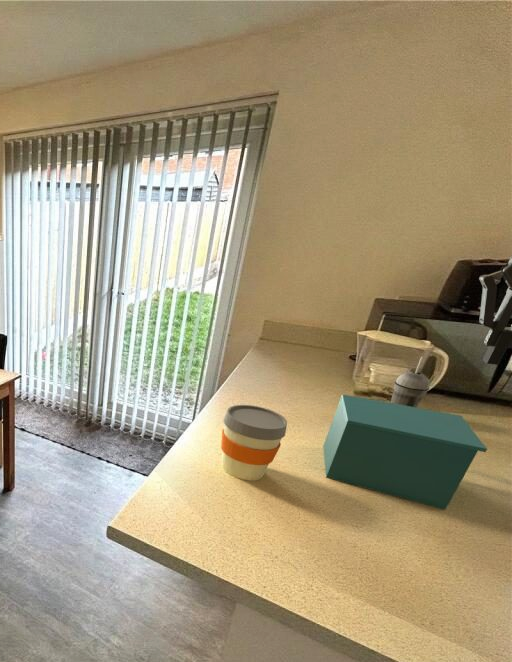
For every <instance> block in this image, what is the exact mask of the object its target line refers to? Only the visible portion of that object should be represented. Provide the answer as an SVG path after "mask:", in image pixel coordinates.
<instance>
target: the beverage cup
mask: <svg viewBox="0 0 512 662" xmlns="http://www.w3.org/2000/svg"><path fill="white" fill-rule="evenodd" d="M424 358H425V357H424V356H421V357H420V358H419V362H418V364H417V366H416V368H415V371H408V372H404V373H402V374H401V375H399V376H398V377H397V378H396V380H395V381H394V386H393V392H392V396H391V399H390V402H389V403H393V404H399V405H405V406H410V407H416V408H418V406H419V404H420V402H421V400H422V399H423V397H424V396H426V394H427V393H428V391H429V390H430V386H431V383H430V379H429V378H428V376H427V375H425V374H424V373H422V372H419V371H420V368H421V366H422V363H423V361H424Z"/></svg>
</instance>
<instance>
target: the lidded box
mask: <svg viewBox="0 0 512 662" xmlns="http://www.w3.org/2000/svg"><path fill="white" fill-rule="evenodd" d="M322 449H323V458H324V468H325V477H326V479H331V480H333V481H334V480H335V481H337V482H341V483H346V484H349V485H352V486H356V487H360V488H364V489H366V490H371V491H375V492H379V493H381V494H385V495H389V496H393V497H397V498H400V499H403V500H408V501H411V502H416V503H419V504H422V505H426V506H430V507H433V508H436V509H437V508H438V509H441V510H446V509H447V507H448V506H449V504H450V502H451V501H452V499H453V497H454V495H455V493H456V492H457V490H458V488H459V486H460V484H461V483H462V481H463V479H464V477H465V475H466V473H467V471H469V468H470V466H471V465H472V463H473V461H474V459H475V457H476V456H477V454H478V452H479V451H477V450H472V449H467V448H463V447H458V446H453V445H448V444H444V443H439V442H434V441H429V440H424V439H420V438H415V437H410V436H405V435H401V434H396V433H391V432H386V431H381V430H377V429H372V428H367V427H362V426H357V425H353V424H348V423H347V421H346V417H345V412H344V407H343V403H342V398H341V397H340V399H339V402H338V404H337V407H336V411H335V413H334V415H333V417H332V420H331V423H330V426H329V429H328V431H327V435H326V438H325V441H324V443H323V447H322Z"/></svg>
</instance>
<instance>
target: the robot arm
mask: <svg viewBox="0 0 512 662" xmlns="http://www.w3.org/2000/svg"><path fill="white" fill-rule="evenodd" d="M502 278H503V280H504V281H505V284H506V285H507V287H508V288H507V289H506V294H505V296H504V297H503V299H502V302H501V304H500V306H499V308H498V310H497V312H496V314H495V309H496V302H497V301H496V300H497V292H498V286H497V285H498V284H500V283H501V279H502ZM478 280H479V282H480V284H481V286H482V293H481V300H480V310H479V319H478V322H479V324H480V325H483V327H487V328H488V329H489V331H488V333H487V334H486V337H485V338H484V340H483V345H485V346H486V347H487V350H486V351H485V354H484V355H483V357H482V361H483V362H484V363H485V364H487V365H496V366H499V364H500V363H501V361H502V358H503V357H504V355H505V353H506V351H507V349H512V324H511V325H510V329H506V327H507V326H508V323H509V321H510V319H511V317H512V255H510V258H509V260H508V262H507V263H506V264H504V265H503V266H502V267H501V268H500V270H499V271H495V272H492V273H490V274H482V275H480V276H479V278H478Z"/></svg>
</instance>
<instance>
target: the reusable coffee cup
mask: <svg viewBox="0 0 512 662" xmlns="http://www.w3.org/2000/svg"><path fill="white" fill-rule="evenodd" d="M223 424H224V428H222V430H221V442H220V449H221V451H222V454H221V468H222V469H223V471H225V472H226V473H227V474H229V475H231V476H233V477H235V478H237V479H240V480H243V481H258V480H260V479H262V478H263V477H264V474H265V473H266V471H267V469H268V467H269V465H270V464H271V463H273V461H274V459H275V458H276V455H277V453H278V452H279V450H280V448H281V444H282V443H281V442H282V439H283V438H284V437H285V436H286V433H287V432H286V431H287V426H288V420H287V419H286V418H285V417H284V416H283V415H282V414H280V413H278V412H276V411H274V410H272V409H269V408H266V407H262V406H258V405H251V404H235V405H232V406H229V407H228V408H227V410H226V413H225V415H224V418H223Z"/></svg>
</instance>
